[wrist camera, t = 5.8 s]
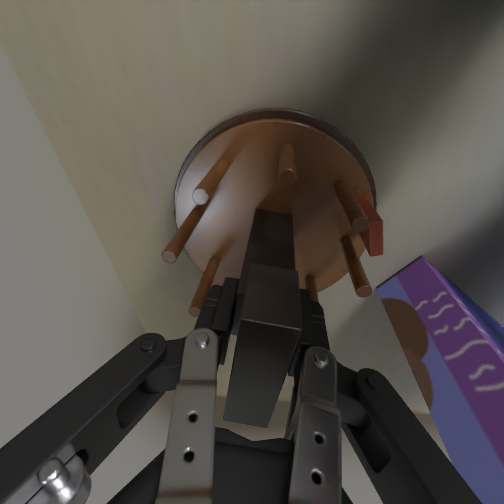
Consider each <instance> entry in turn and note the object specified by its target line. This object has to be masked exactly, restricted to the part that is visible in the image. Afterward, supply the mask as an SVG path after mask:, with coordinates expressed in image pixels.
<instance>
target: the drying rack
mask: <svg viewBox="0 0 504 504" xmlns="http://www.w3.org/2000/svg"><path fill="white" fill-rule="evenodd" d="M175 217H176V225H177V230H178V231H177V232H176V234H175V235H174V237H173V238H172V239H171V241H170V242H169V244H168V245H167V247H166V248H165V249H164V251H163V252H162V255H161V256H162V259H163V260H164V261H165V262H167V263H174V262H175V261H176V260H177V258H178V256H179V255H180V253H181V251H182V250H183V248H185V250H186V252H187V254H188V255H189V257H190V258H191V260H192V261H193V263H194V264H195V265H196V266H197V267H198V268H199V270H200V271H201V272H203V273H204V274H203V276H202V279H201V281H200V283H199V286H198V288H197V291H196V293H195V296H194V298H193V300H192V303H191V305H190V308H189V314H190V315H192V316H194V317H199V314H200V311H201V308H202V306H203V303H204V300H205V297H206V294H207V292H208V290H209V289H210V288H211V286H212V283H213V282H215V283H216V284H218V285H219V286H223V284H224V280H225V277H231V278H238V279H239V284H238V288H237V292H236V299H235V305H234V312H233V318H232V327H231V334H232V335H237V341H236V347H235V352H234V358H233V364H232V370H231V375H230V381H229V387H228V393H227V398H226V404H225V410H224V416H223V420H226V421H231V422H236V423H242V424H247V425H253V426H259V427H264V428H267V427H268V424H269V422H270V419H271V416H272V413H273V410H274V408H275V405H276V402H277V399H278V397H279V394H280V391H281V388H282V385H283V383H284V380H285V377H286V374H287V371H288V369H289V366H290V363H291V360H292V357H293V355H294V352H295V349H296V346H297V344H298V341H299V338H300V335H301V332H302V318H301V304H300V290H299V288H301V289H307V290H309V292H310V300H314V301H318V294H317V292H320V291H322V290H323V289H325V288H327V287H329V286H331V285H332V284H334V283H335V282H337V281H338V280H339V279H341V278H342V277H343V276H344V275H345V274H346V273H347V272H348V271H349V273H350V276H351V279H352V283H353V286H354V289H355V292H356V294H357V295H358V296H359V297H368V296H369V295H370V294H371V293H372V288H371V286H370V284H369V281H368V279H367V276H366V274H365V271H364V269H363V267H362V264H361V262H360V259H359V258H360V256H361V255H362V253H363V251H364V249H365V247H366V249H367V251H368V253H369V255H370V256H378V255H383V221H382V219H381V218H380V216H379V215H378V213H377V212H376V210H375V209H374V206H373V196H372V192H371V189H370V185H369V182H368V180H367V178H366V175H365V173H364V171H363V169H362V168H361V166H360V165H359V163H358V162H357V160H356V159H355V158H354V156H353V155H352V154H351V153H350V152H349V151H348V150H347V149H346V147H345V146H344V145H342V144H341V143H340V142H339V141H337V140H336V139H335V138H334V137H332V136H331V135H329V134H327V133H326V132H324V131H322V130H321V129H318V128H316V127H314V126H311V125H309V124H306V123H302V122H298V121H294V120H287V119H260V120H255V121H250V122H246V123H243V124H240V125H237V126H234V127H232V128H230V129H228V130H226V131H224V132H222V133H220V134H219V135H218V136H216V137H215V138H214V139H212V140H211V141H209V142H208V143H207V144H206V145H205V146H204V147H203V148H202V149H201V150H200V151H199V152H198V153H197V154H196V155H195V156H194V158H193V159H192V160H191V162H190V163H189V164H188V166H187V168H186V170H185V172H184V173H183V175H182V178H181V181H180V183H179V186H178V190H177V195H176V202H175ZM318 302H319V301H318Z"/></svg>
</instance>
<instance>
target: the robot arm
mask: <svg viewBox="0 0 504 504" xmlns="http://www.w3.org/2000/svg"><path fill="white" fill-rule="evenodd" d="M238 284H239V279H238V278H231V277H225V280H224V284H223V286H219V285H213V286H212V287H211V288H210V289H209V290H208V292H207V294H206V297H205V300H204V303H203V306H202V308H201V311H200V314H199V317H198V320H197V322H196V325H195V328H194V330H192V331H191V332H190V333H189V334H188V335H187V336H186V337H184V338H181V339H177V340H168V341H165V339H164V337H163V336H161V335H159V334H157V333H147V334H143V335H141V336H139V337H138V338H136V339H135V340H134V341H133V342H131V343H130V344H129V345H128V346H126V347H125V348H124V349H123V350H121V351H120V352H119V353H118V354H116V355H115V356H114V357H113V358H112V359H110V360H109V361H108V362H107V363H106V364H104V365H103V366H102V367H100V368H99V369H98V370H97V371H96V372H94V373H93V374H92V375H91V376H90V377H88V378H87V379H86V380H84V381H83V382H82V383H81V384H79V385H78V386H77V387H76V388H75V389H73V390H72V391H71V392H70V393H69V394H67V395H66V396H65V397H63V398H62V399H61V400H60V401H59V402H57V403H56V404H55V405H54V406H52V407H51V408H50V409H49V410H47V411H46V412H45V413H44V414H43V415H42V416H40V417H39V418H38V419H36V420H35V421H34V422H33V423H32V424H30V425H29V426H28V427H26V428H25V429H24V430H23V431H22V432H20V433H19V434H18V435H17V436H16V437H14V438H13V439H12V440H10V442H8V443H7V444H6V445H4V446H3V447H2V448H1V449H0V504H85V503H86V501H87V499H88V497H89V494H90V491H91V485H92V484H91V477H90V475H91V474H92V473H93V472H94V470H95V469H96V468H97V467H98V466H99V465H100V464H101V463H102V462H103V461H104V459H105V458H106V457H107V456H108V455H109V454H110V453H111V452H112V451H113V450H114V448H115V447H116V446H117V445H118V444H119V443H120V442H121V441H122V440H123V439H124V437H125V436H126V435H127V434H128V433H129V432H130V431H131V430H132V429H133V428H134V426H135V425H136V424H137V423H138V422H139V421H140V420H141V419H142V418H143V416H144V415H145V414H146V413H147V412H148V411H149V410H150V409H151V408H152V406H153V405H154V404H155V403H156V402H157V401H158V400H159V399H160V398H161V397H162V395H163V394H164V393H165V392H166V391H169V390H175V395H174V401H173V407H172V413H171V419H170V424H169V431H168V437H167V442H166V448H165V449H164V450H163V451H162V452H161V453H160V454H159V455H158V456H157V457H156V458H155V459H154V460H153V461H151V462H150V463H149V464H148V465H147V466H146V467H145V468H144V469H143V470H142V471H141V472H140V473H139V474H137V476H135V477H134V478H133V479H132V480H131V481H130V482H129V483H128V484H127V485H126V486H125V487H124V488H123V489H122V490H121V491H119V492H118V493H117V494H116V495H115V496H114V497H113V498H112V499H111V500H110V501H109V502H108V503H107V504H353V503H352V501H351V500H350V499H349V497H348V495H347V494H346V492H345V491H344V489H343V488H342V474H341V473H342V467H341V466H342V461H341V460H342V458H341V456H342V455H341V454H342V451H341V427H342V429H343V430H344V432H345V434H346V436H347V438H348V440H349V441H350V443H351V445H352V447H353V449H354V451H355V452H356V454H357V456H358V458H359V460H360V462H361V463H362V465H363V467H364V469H365V471H366V473H367V474H368V476H369V478H370V480H371V482H372V484H373V485H374V487H375V489H376V491H377V493H378V494H379V496H380V498H381V500H382V502H383V504H482V503H481V501H480V500H479V499H478V497H477V496H476V495H475V493H474V492H473V491H472V490H471V488H470V487H469V486H468V484H467V483H466V482H465V480H464V479H463V478H462V476H461V475H460V474H459V473H458V471H457V470H456V469H455V467H454V466H453V465H452V463H451V462H450V461H449V460H448V458H447V457H446V456H445V455H444V453H443V452H442V450H441V449H440V448H439V447H438V445H437V444H436V443H435V441H434V440H433V439H432V437H431V436H430V435H429V433H428V432H427V431H426V430H425V428H424V427H423V426H422V424H421V423H420V422H419V420H418V419H417V418H416V417H415V415H414V414H413V413H412V411H411V410H410V409H409V407H408V406H407V405H406V403H405V402H404V401H403V400H402V398H401V397H400V396H399V394H398V393H397V392H396V390H395V389H394V388H393V387H392V385H391V384H390V383H389V381H388V380H387V379H386V378H385V377H384V376H383V375H382V374H381V373H379V372H378V371H376V370H373V369H370V368H364V369H361V370H359V371H358V372H355V371H353V370H351V369H349V368H347V367H345V366H343V365H341V364H340V363H339V362H337V361H336V358H335V356H334V355H333V354H332V353H331V352H330V348H329V342H328V336H327V330H326V325H325V319H324V312H323V308H322V307H321V305H320V304H319V302H318V301H314V300H310V292H309V290H307V289H301V288H299V290H300V304H301V318H302V332H301V335H300V338H299V341H298V344H297V346H296V349H295V352H294V355H293V357H292V360H291V363H290V366H289V369H288V376H293V377H294V386H293V389H292V394H291V401H290V407H289V413H288V420H287V426H286V432H285V436H284V439H283V438H276V439H268V440H261V441H251V440H248V439H246V438H244V437H242V436H240V435H238V434H236V433H234V432H232V431H230V430H228V429H224V428H218V427H215V415H216V414H215V413H216V390H217V371H218V367H219V364H220V365H224V362H225V357H226V352H227V348H228V343H229V338H230V333H231V327H232V318H233V312H234V305H235V299H236V292H237V288H238Z"/></svg>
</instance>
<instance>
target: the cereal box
mask: <svg viewBox="0 0 504 504" xmlns="http://www.w3.org/2000/svg"><path fill="white" fill-rule="evenodd" d="M376 289H377V291H378V293H379V296H380V298H381V300H382V303H383V305H384V307H385V310H386V312H387V314H388V316H389V319H390V321H391V323H392V326H393V328H394V330H395V333H396V335H397V337H398V339H399V342H400V344H401V346H402V349H403V351H404V353H405V356H406V358H407V360H408V362H409V365H410V367H411V369H412V372H413V374H414V376H415V379H416V381H417V383H418V385H419V388H420V390H421V392H422V395H423V397H424V399H425V402H426V404H427V406H428V408H429V411H430V413H431V415H432V418H433V420H434V422H435V424H436V427H437V429H438V431H439V434H440V436H441V438H442V440H443V443H444V445H445V447H446V450H447V452H448V454H449V457H450V459H451V461H452V464H453V466H454V467H455V469H456V470H457V471H458V473H459V474H460V475H461V476H462V478H463V479H464V480H465V482H466V483H467V484H468V486H469V487H470V488H471V490H472V491H473V492H474V493H475V495H476V496H477V497H478V499H479V500H480V501H481V503H482V504H504V328H503V327H502V326H501V325H500V324H499V323H498V322H496V321H495V320H494V319H493V318H492V317H491V316H490V315H488V314H487V313H486V312H485V311H484V310H483V309H482V308H481V307H479V306H478V305H477V304H476V303H475V302H474V301H473V300H471V299H470V298H469V297H468V296H467V295H466V294H465V293H463V292H462V291H461V290H460V289H459V288H458V287H457V286H455V285H454V284H453V283H452V282H451V281H450V280H449V279H447V278H446V277H445V276H444V275H443V274H442V273H441V272H439V271H438V270H437V269H436V268H435V267H434V266H433V265H431V264H430V263H429V262H428V261H427V260H426V259H425V258H424V257H422V256H420V257H418V258H417V259H416V260H414V261H413V262H411V263H410V264H408V265H407V266H406V267H404V268H403V269H401V270H400V271H399V272H397V273H396V274H394V275H393V276H391V277H390V278H389V279H387V280H386V281H384V282H383V283H382V284H380V285H379V286H377V287H376Z"/></svg>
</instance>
